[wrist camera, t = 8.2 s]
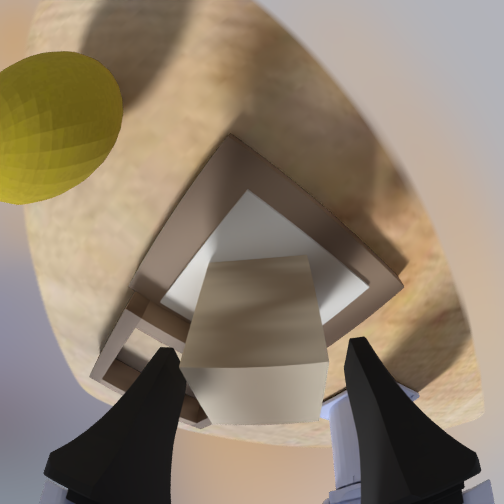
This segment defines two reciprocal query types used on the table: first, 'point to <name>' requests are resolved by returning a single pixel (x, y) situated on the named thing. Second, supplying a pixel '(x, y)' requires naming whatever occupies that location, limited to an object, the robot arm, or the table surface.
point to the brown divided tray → (243, 248)
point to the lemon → (54, 124)
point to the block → (257, 343)
